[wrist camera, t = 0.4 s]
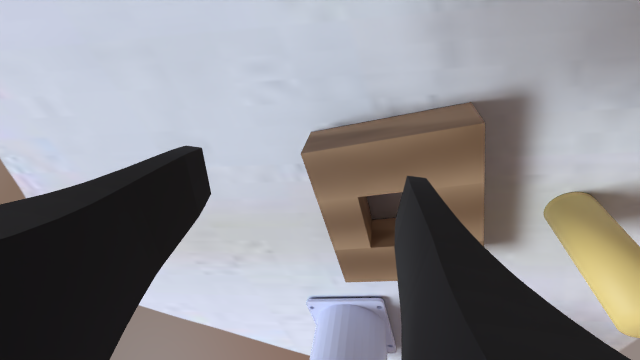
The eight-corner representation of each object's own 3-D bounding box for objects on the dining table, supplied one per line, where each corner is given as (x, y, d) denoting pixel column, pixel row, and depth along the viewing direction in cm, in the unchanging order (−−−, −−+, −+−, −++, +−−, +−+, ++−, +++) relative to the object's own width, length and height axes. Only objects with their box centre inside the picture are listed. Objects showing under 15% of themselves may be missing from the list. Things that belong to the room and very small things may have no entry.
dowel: (592, 224, 21) (687, 339, 14) (541, 227, 21) (609, 337, 15) (601, 189, 19) (712, 300, 13) (546, 194, 20) (623, 301, 14)
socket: (472, 246, 24) (483, 278, 21) (349, 253, 26) (345, 282, 24) (471, 102, 17) (484, 122, 15) (310, 132, 20) (300, 153, 18)
